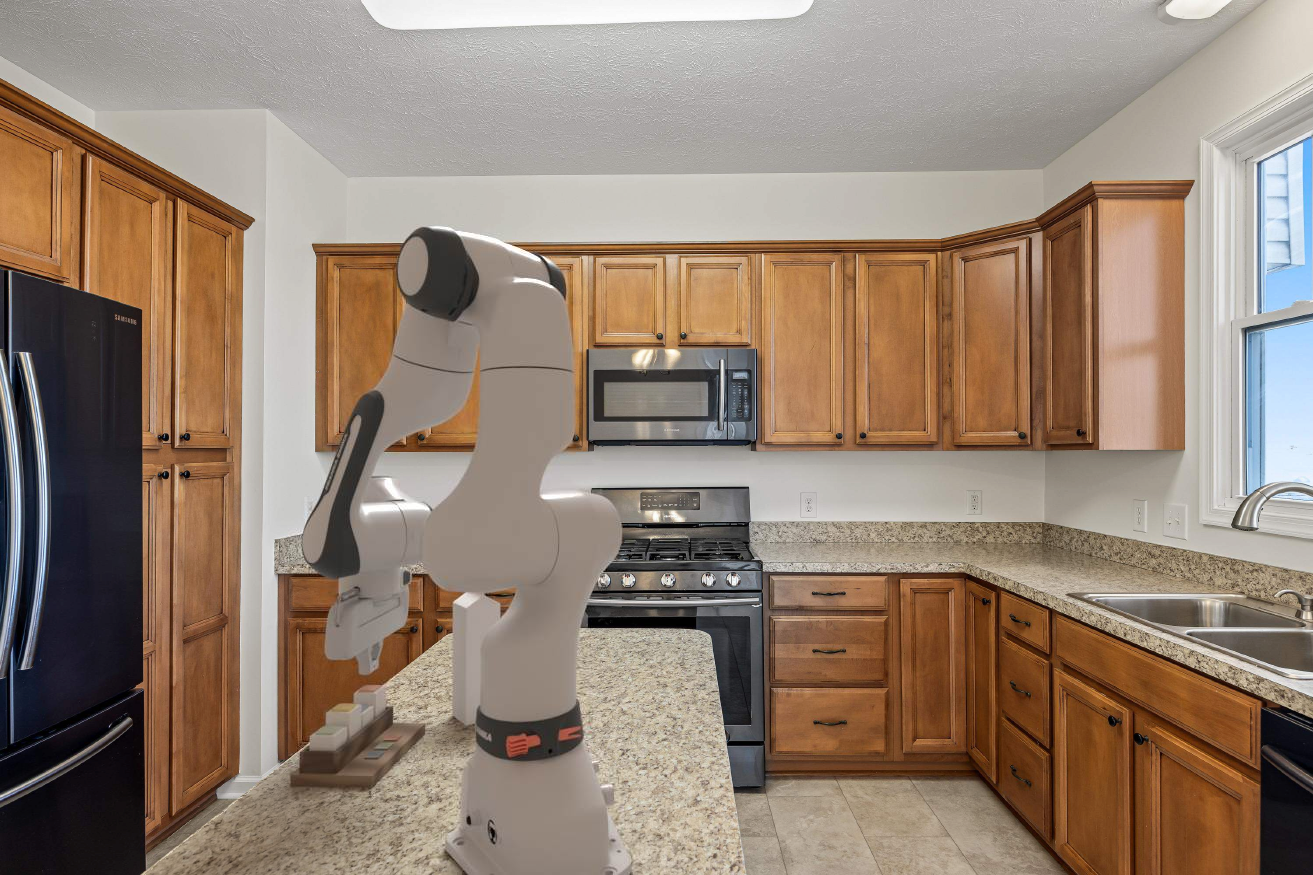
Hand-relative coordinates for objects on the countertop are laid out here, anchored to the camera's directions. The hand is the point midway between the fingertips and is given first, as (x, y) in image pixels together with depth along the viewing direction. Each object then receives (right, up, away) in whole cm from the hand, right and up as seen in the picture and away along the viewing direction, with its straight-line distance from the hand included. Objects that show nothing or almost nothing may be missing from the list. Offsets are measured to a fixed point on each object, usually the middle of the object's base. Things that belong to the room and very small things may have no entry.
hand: (368, 671), depth 107 cm
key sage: (0, -8, -12) cm, 15 cm away
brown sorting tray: (+2, -10, -7) cm, 12 cm away
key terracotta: (0, -6, 0) cm, 6 cm away
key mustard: (0, -6, -8) cm, 11 cm away
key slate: (0, -8, -5) cm, 9 cm away
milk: (+14, -11, +9) cm, 20 cm away
